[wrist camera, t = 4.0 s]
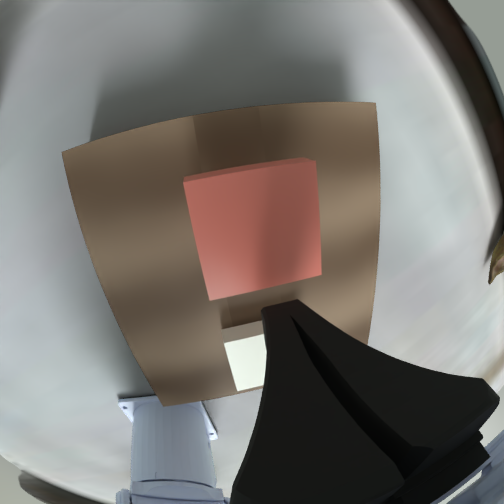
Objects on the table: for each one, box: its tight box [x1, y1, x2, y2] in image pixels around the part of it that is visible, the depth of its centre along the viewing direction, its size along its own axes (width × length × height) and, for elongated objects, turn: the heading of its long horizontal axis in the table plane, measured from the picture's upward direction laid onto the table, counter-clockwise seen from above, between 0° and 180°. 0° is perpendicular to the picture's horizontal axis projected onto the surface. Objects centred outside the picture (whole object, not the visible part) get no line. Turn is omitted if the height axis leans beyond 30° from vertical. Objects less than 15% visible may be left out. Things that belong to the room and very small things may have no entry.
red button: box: [183, 157, 322, 301], centre depth 12 cm, size 4×4×5 cm
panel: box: [62, 102, 380, 407], centre depth 17 cm, size 18×16×4 cm
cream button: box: [221, 320, 267, 391], centre depth 18 cm, size 4×4×5 cm
